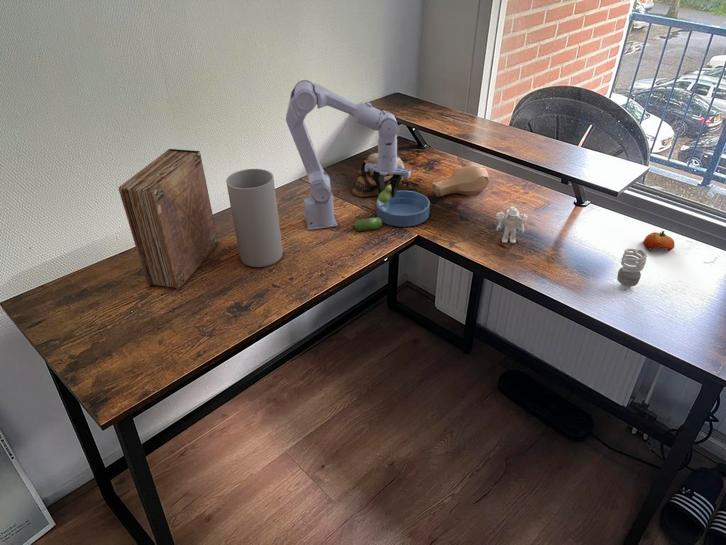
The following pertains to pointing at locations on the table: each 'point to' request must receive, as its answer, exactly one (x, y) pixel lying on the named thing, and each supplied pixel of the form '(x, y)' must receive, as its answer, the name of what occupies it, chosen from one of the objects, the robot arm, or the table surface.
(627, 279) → the light bulb
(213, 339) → the table surface
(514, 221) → the hat wearing toy figure
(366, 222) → the green zucchini
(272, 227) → the cylinder vase
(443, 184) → the squash
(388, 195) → the pale zucchini
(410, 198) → the bowl
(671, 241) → the tomato
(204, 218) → the book
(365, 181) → the coin bank
